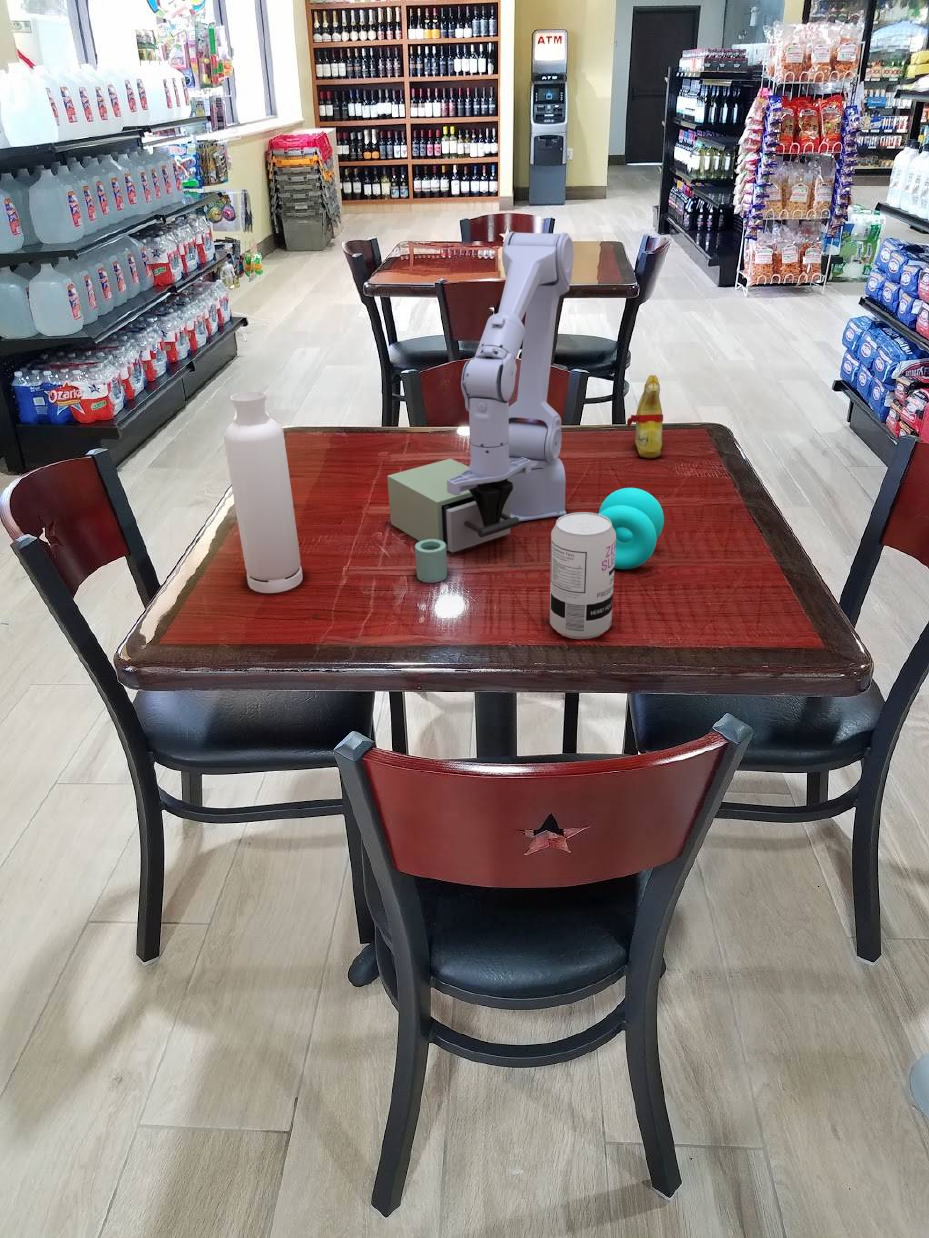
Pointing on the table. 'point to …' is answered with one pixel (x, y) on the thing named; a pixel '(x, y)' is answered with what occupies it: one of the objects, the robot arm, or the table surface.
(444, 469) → the green drawer cabinet
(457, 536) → the drawer
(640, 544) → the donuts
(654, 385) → the chocolate bunny
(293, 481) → the table surface
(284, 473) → the bottle
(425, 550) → the jar
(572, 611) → the supplement can
